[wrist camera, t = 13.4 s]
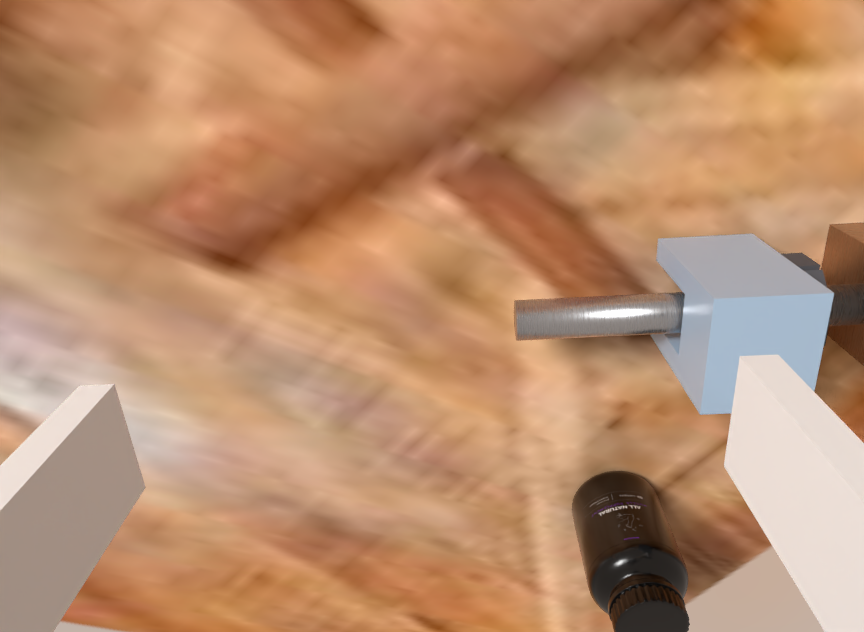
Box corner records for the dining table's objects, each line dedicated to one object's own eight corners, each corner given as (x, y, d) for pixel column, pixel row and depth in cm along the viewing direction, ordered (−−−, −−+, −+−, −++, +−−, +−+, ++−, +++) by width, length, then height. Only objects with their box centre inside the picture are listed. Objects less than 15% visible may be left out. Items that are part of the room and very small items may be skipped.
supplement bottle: (613, 452, 51) (658, 570, 40) (673, 498, 53) (731, 624, 42) (551, 505, 54) (577, 631, 43) (610, 548, 55) (650, 679, 44)
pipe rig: (509, 335, 47) (519, 385, 41) (508, 241, 45) (518, 279, 38) (870, 318, 46) (937, 367, 40) (892, 221, 43) (969, 257, 37)
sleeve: (650, 335, 46) (700, 414, 37) (658, 238, 43) (714, 298, 34) (738, 331, 46) (810, 410, 37) (752, 233, 43) (834, 292, 34)
